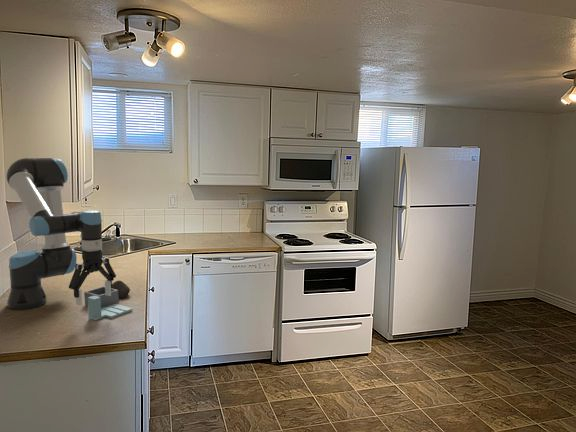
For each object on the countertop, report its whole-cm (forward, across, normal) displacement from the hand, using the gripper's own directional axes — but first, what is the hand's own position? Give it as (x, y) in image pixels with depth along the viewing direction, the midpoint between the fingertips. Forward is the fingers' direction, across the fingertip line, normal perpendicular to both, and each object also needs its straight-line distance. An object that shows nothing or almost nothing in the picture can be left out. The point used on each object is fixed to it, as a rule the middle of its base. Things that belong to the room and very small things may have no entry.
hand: (94, 300), depth 182 cm
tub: (+8, +13, +12) cm, 20 cm away
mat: (+8, +9, 0) cm, 12 cm away
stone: (+9, +24, +15) cm, 30 cm away
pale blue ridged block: (+8, +6, 0) cm, 10 cm away
